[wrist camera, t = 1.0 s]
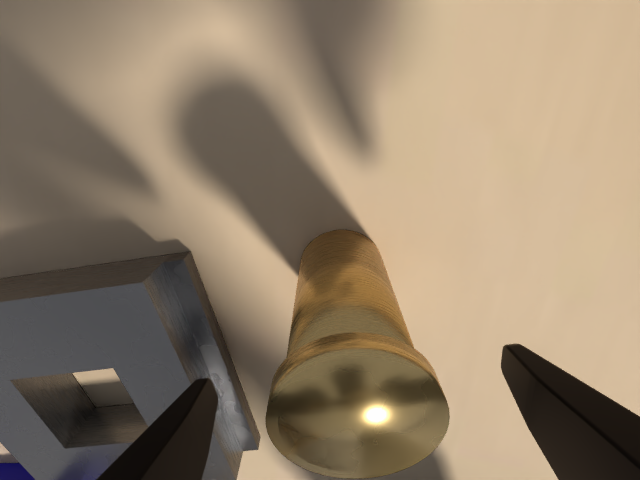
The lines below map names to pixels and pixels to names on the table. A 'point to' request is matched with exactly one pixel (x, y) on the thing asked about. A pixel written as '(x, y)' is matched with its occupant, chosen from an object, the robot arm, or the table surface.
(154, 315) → the plate
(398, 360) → the gold flared cylinder
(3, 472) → the cable clip
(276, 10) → the table surface
